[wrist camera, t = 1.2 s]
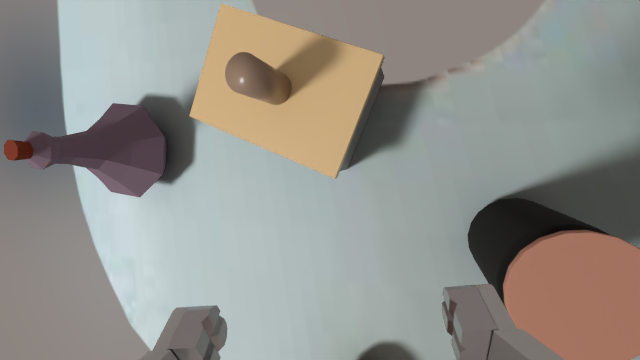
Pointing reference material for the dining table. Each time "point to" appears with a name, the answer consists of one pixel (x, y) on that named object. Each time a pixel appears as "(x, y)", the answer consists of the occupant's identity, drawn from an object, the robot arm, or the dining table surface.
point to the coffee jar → (561, 279)
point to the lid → (284, 88)
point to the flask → (104, 150)
